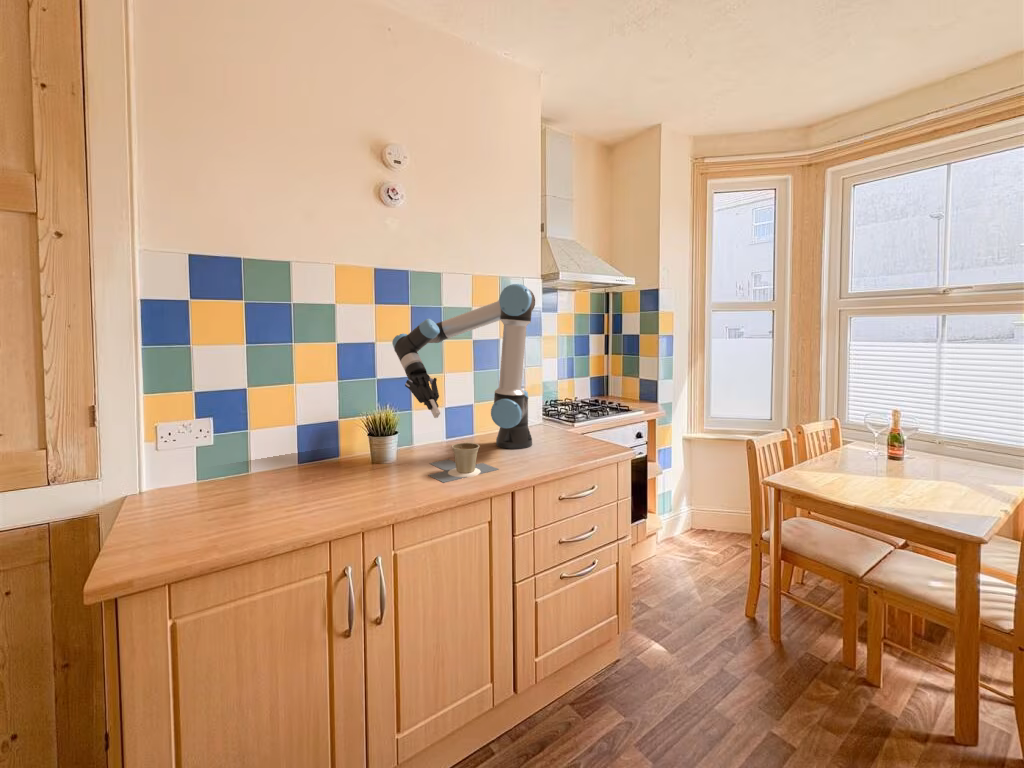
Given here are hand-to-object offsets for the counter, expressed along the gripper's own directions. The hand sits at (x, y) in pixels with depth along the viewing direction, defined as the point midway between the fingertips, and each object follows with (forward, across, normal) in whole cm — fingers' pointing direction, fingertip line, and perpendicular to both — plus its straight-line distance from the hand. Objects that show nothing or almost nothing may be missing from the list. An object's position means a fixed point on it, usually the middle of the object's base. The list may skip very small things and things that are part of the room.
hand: (437, 415), depth 168 cm
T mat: (+20, 0, -4) cm, 21 cm away
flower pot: (+24, -1, 0) cm, 24 cm away
